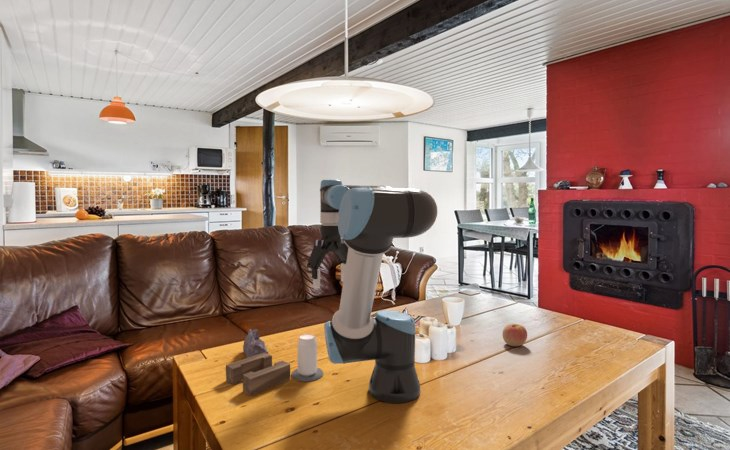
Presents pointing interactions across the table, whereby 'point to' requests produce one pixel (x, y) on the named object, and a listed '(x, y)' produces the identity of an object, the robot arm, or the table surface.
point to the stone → (253, 344)
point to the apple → (514, 334)
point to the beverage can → (307, 355)
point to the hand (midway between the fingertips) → (331, 284)
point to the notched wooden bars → (257, 373)
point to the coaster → (307, 378)
